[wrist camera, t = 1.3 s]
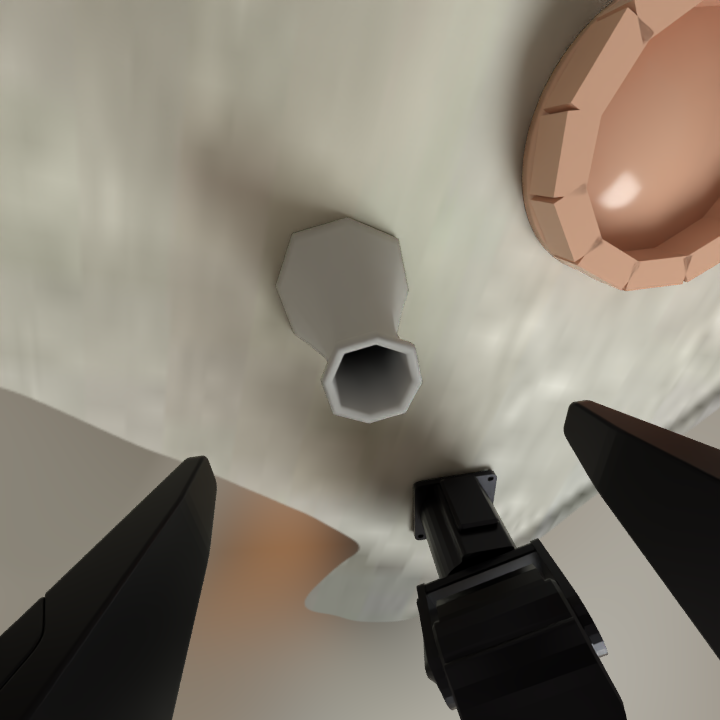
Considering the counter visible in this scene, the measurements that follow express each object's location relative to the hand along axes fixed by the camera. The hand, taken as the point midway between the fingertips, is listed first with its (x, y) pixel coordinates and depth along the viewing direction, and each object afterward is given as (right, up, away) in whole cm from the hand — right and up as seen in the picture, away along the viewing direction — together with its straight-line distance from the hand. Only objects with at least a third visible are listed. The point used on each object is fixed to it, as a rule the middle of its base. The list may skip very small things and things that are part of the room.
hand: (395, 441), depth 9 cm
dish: (+14, +13, +10) cm, 21 cm away
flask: (-2, +6, +11) cm, 13 cm away
